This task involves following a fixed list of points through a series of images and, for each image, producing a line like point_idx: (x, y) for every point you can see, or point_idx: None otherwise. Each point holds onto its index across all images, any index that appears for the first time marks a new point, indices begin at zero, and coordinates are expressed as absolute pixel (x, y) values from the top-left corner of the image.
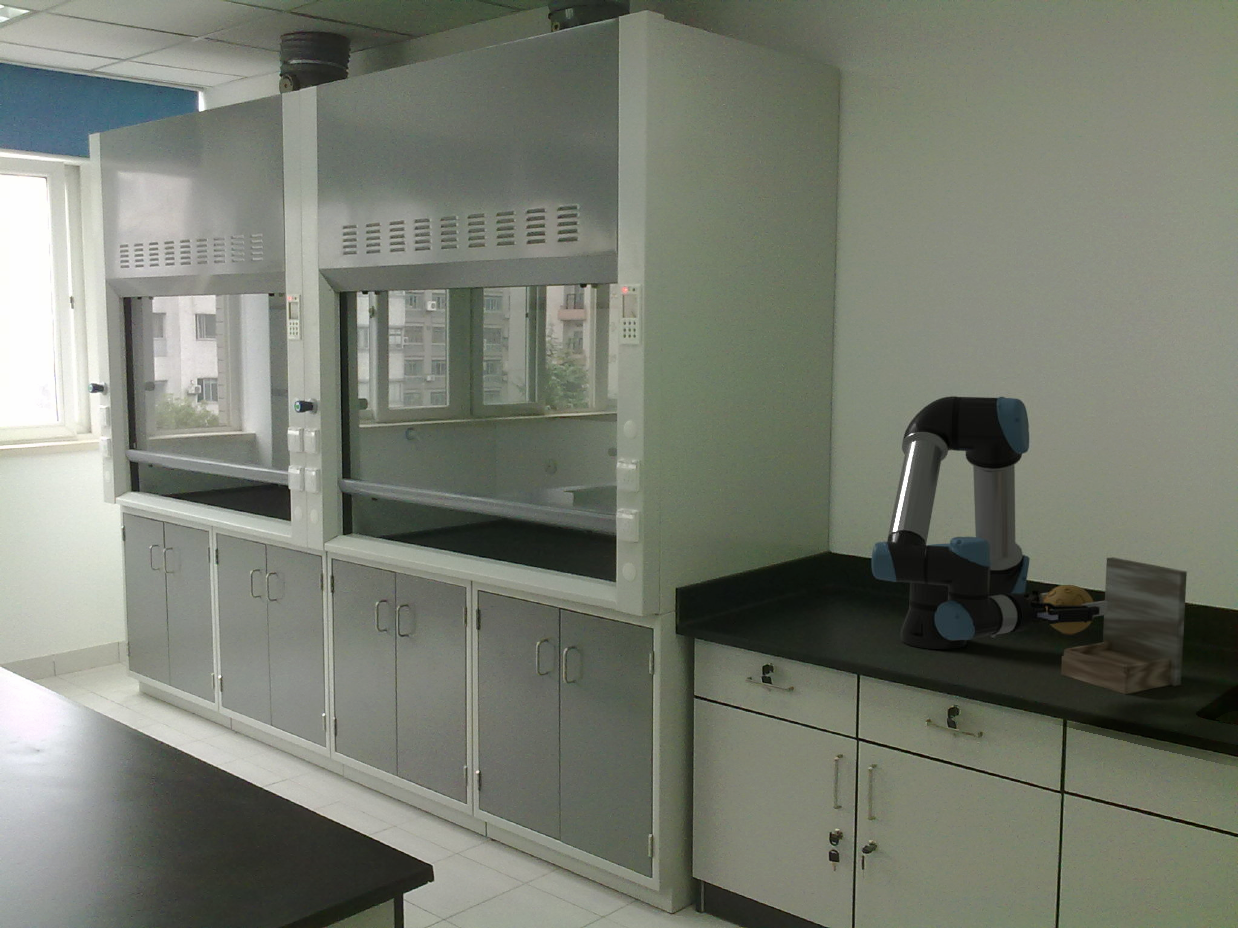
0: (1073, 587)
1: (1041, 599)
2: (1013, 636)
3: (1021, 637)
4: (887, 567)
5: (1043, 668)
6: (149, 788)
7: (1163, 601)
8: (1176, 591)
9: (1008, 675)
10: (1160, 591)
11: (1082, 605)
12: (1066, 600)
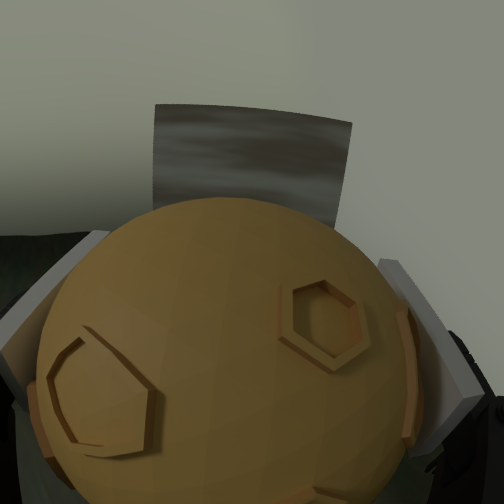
0: (314, 237)
1: (13, 382)
2: (10, 280)
3: (19, 278)
4: None
5: None
6: None
7: (305, 187)
8: (339, 164)
9: (50, 495)
10: (299, 166)
11: (462, 405)
12: (372, 464)
